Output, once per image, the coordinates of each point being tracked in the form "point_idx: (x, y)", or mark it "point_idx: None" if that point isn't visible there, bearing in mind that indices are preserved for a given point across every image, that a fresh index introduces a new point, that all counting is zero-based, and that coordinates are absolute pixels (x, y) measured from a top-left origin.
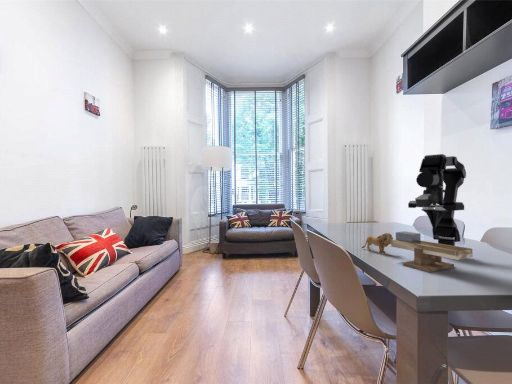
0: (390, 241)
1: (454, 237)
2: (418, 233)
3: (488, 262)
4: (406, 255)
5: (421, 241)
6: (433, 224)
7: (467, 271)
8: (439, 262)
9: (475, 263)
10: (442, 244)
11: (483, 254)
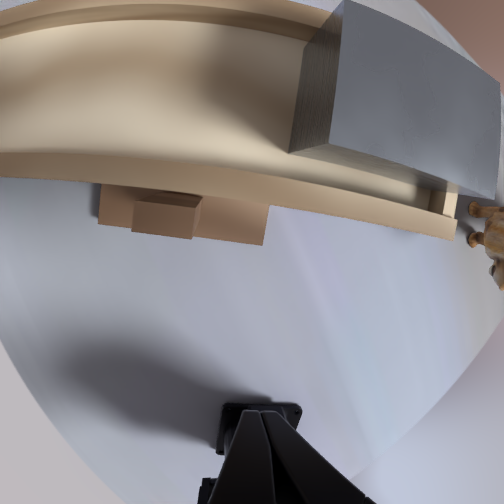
0: (493, 239)
1: (207, 493)
2: (349, 136)
3: (90, 417)
4: (388, 270)
5: (301, 181)
6: (265, 438)
7: (39, 188)
8: (161, 190)
9: (97, 371)
10: (80, 154)
11: (177, 498)
